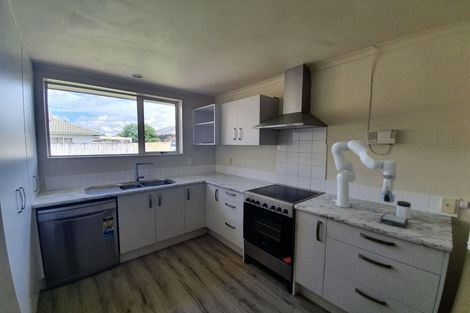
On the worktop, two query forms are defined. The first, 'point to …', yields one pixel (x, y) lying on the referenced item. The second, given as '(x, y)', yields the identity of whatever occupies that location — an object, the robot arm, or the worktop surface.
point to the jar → (403, 209)
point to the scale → (394, 220)
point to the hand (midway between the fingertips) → (387, 200)
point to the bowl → (390, 197)
